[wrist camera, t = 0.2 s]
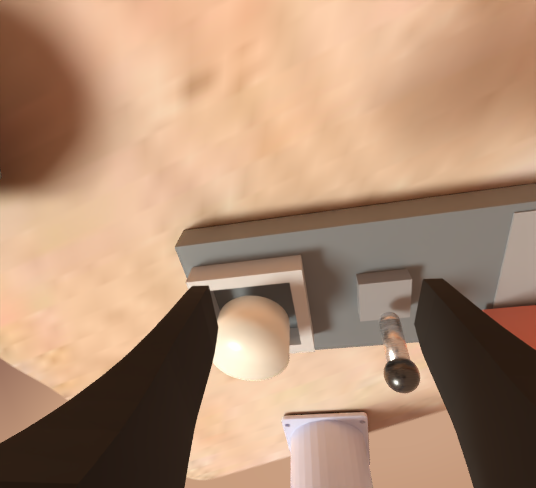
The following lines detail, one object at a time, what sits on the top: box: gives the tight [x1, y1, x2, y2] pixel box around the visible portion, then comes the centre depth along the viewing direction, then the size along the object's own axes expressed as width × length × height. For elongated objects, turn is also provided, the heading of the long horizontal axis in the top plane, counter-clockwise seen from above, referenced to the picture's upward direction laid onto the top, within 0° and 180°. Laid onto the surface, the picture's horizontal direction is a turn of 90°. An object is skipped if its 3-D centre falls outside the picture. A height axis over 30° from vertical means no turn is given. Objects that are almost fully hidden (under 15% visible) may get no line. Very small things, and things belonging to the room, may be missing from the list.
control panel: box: [175, 183, 536, 354], centre depth 21 cm, size 10×24×4 cm, turn 100°
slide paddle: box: [482, 305, 536, 350], centre depth 20 cm, size 2×4×3 cm, turn 101°
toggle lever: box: [379, 312, 420, 393], centre depth 19 cm, size 2×2×4 cm
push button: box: [213, 296, 290, 381], centre depth 20 cm, size 4×4×2 cm
